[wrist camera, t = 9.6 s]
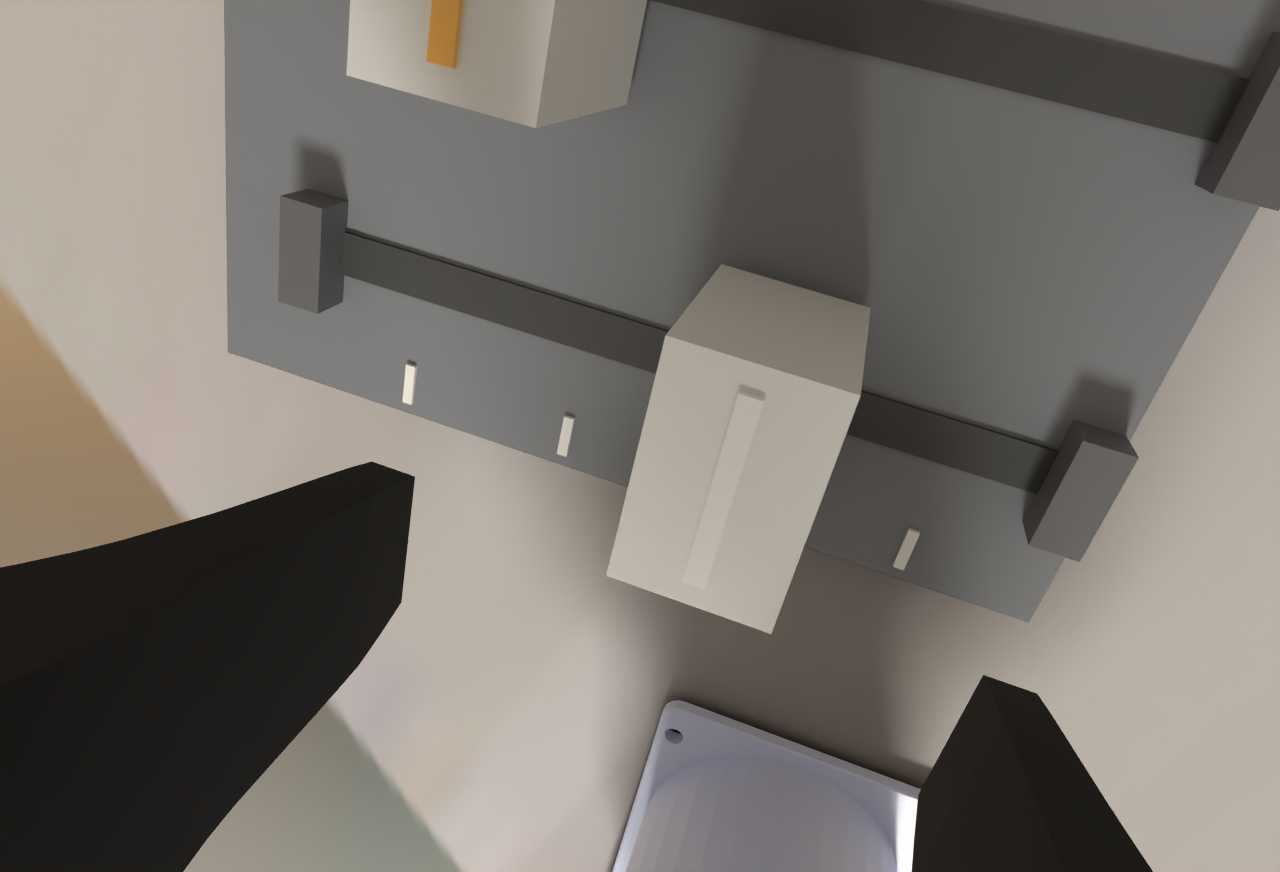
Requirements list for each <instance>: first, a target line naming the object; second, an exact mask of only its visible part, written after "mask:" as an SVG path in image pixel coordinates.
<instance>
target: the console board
mask: <svg viewBox="0 0 1280 872" xmlns="http://www.w3.org/2000/svg"><path fill="white" fill-rule="evenodd" d="M349 15H350V0H224V29H225V122H226V216H227V309H228V352H229V353H232V354H235V355H238V356H241V357H244V358H247V359H250V360H253V361H256V362H259V363H262V364H265V365H268V366H271V367H274V368H277V369H280V370H283V371H286V372H289V373H292V374H294V375H297V376H300V377H303V378H306V379H309V380H312V381H315V382H318V383H321V384H324V385H327V386H330V387H333V388H336V389H339V390H342V391H345V392H348V393H351V394H354V395H357V396H360V397H363V398H366V399H369V400H371V401H374V402H377V403H380V404H383V405H386V406H389V407H392V408H395V409H398V410H401V411H404V412H407V413H410V414H413V415H416V416H419V417H422V418H425V419H428V420H431V421H434V422H437V423H440V424H443V425H446V426H448V427H451V428H454V429H457V430H460V431H463V432H466V433H469V434H472V435H475V436H478V437H481V438H484V439H487V440H490V441H493V442H496V443H499V444H502V445H505V446H508V447H511V448H514V449H517V450H520V451H523V452H525V453H528V454H531V455H534V456H537V457H540V458H543V459H546V460H549V461H552V462H555V463H558V464H561V465H564V466H567V467H570V468H573V469H576V470H579V471H582V472H585V473H588V474H591V475H594V476H597V477H600V478H602V479H605V480H608V481H611V482H614V483H617V484H620V485H623V486H626V487H628V485H629V481H630V477H631V473H632V469H633V465H634V461H635V457H636V453H637V449H638V445H639V441H640V437H641V433H642V429H643V425H644V421H645V416H646V412H647V408H648V404H649V400H650V396H651V392H652V388H653V384H654V380H655V376H656V372H657V368H658V364H659V360H660V356H661V352H662V348H663V344H664V340H665V336H666V334H667V333H668V332H669V330H670V329H671V328H672V326H673V325H674V324H675V323H676V321H677V320H678V319H679V318H680V316H681V315H682V314H683V312H684V311H685V310H686V309H687V307H688V306H689V305H690V304H691V302H692V301H693V300H694V298H695V297H696V296H697V295H698V293H699V292H700V291H701V290H702V288H703V287H704V286H705V284H706V283H707V282H708V281H709V279H710V278H711V277H712V276H713V274H714V273H715V272H716V270H717V269H718V268H719V267H720V265H721V264H723V265H726V266H730V267H733V268H737V269H740V270H743V271H747V272H750V273H754V274H757V275H761V276H764V277H767V278H771V279H774V280H778V281H781V282H784V283H788V284H791V285H795V286H798V287H801V288H805V289H808V290H812V291H815V292H818V293H822V294H825V295H829V296H832V297H835V298H839V299H842V300H846V301H849V302H852V303H856V304H859V305H863V306H866V307H869V308H871V310H870V319H869V328H868V336H867V345H866V354H865V363H864V371H863V380H862V389H861V396H860V399H859V402H858V404H857V407H856V410H855V412H854V415H853V418H852V420H851V423H850V426H849V428H848V431H847V434H846V436H845V439H844V442H843V444H842V447H841V450H840V452H839V455H838V458H837V460H836V463H835V466H834V468H833V471H832V474H831V476H830V479H829V482H828V484H827V487H826V490H825V492H824V495H823V498H822V500H821V503H820V506H819V508H818V511H817V514H816V516H815V519H814V522H813V524H812V527H811V530H810V532H809V535H808V538H807V540H806V543H805V546H804V547H807V548H810V549H813V550H816V551H819V552H822V553H825V554H828V555H831V556H834V557H836V558H839V559H842V560H845V561H848V562H851V563H854V564H857V565H860V566H863V567H866V568H869V569H872V570H875V571H878V572H881V573H884V574H887V575H890V576H893V577H896V578H899V579H902V580H905V581H908V582H911V583H913V584H916V585H919V586H922V587H925V588H928V589H931V590H934V591H937V592H940V593H943V594H946V595H949V596H952V597H955V598H958V599H961V600H964V601H967V602H970V603H973V604H976V605H979V606H982V607H985V608H988V609H990V610H993V611H996V612H999V613H1002V614H1005V615H1008V616H1011V617H1014V618H1017V619H1020V620H1023V621H1026V622H1029V621H1030V619H1031V618H1032V616H1033V614H1034V612H1035V610H1036V609H1037V607H1038V605H1039V603H1040V601H1041V599H1042V598H1043V596H1044V594H1045V592H1046V590H1047V589H1048V587H1049V585H1050V583H1051V581H1052V580H1053V578H1054V576H1055V574H1056V572H1057V571H1058V569H1059V567H1060V565H1061V563H1062V562H1063V560H1064V558H1065V557H1066V558H1069V559H1072V560H1076V561H1079V562H1080V560H1081V559H1082V557H1083V555H1084V553H1085V552H1086V550H1087V548H1088V546H1089V545H1090V543H1091V541H1092V539H1093V537H1094V536H1095V534H1096V532H1097V530H1098V529H1099V527H1100V525H1101V523H1102V522H1103V520H1104V518H1105V516H1106V515H1107V513H1108V511H1109V509H1110V507H1111V506H1112V504H1113V502H1114V500H1115V499H1116V497H1117V495H1118V493H1119V492H1120V490H1121V488H1122V486H1123V485H1124V483H1125V481H1126V479H1127V477H1128V476H1129V474H1130V472H1131V470H1132V469H1133V467H1134V465H1135V463H1136V462H1137V460H1138V456H1137V454H1136V452H1135V450H1134V449H1133V447H1132V445H1131V443H1130V442H1129V441H1130V439H1131V437H1132V435H1133V434H1134V432H1135V430H1136V428H1137V426H1138V425H1139V423H1140V421H1141V419H1142V417H1143V416H1144V414H1145V412H1146V410H1147V408H1148V407H1149V405H1150V403H1151V401H1152V399H1153V397H1154V396H1155V394H1156V392H1157V390H1158V388H1159V387H1160V385H1161V383H1162V381H1163V379H1164V378H1165V376H1166V374H1167V372H1168V370H1169V369H1170V367H1171V365H1172V363H1173V361H1174V360H1175V358H1176V356H1177V354H1178V352H1179V351H1180V349H1181V347H1182V345H1183V343H1184V342H1185V340H1186V338H1187V336H1188V334H1189V333H1190V331H1191V329H1192V327H1193V325H1194V324H1195V322H1196V320H1197V318H1198V316H1199V315H1200V313H1201V311H1202V309H1203V307H1204V305H1205V304H1206V302H1207V300H1208V298H1209V296H1210V295H1211V293H1212V291H1213V289H1214V287H1215V286H1216V284H1217V282H1218V280H1219V278H1220V277H1221V275H1222V273H1223V271H1224V269H1225V268H1226V266H1227V264H1228V262H1229V260H1230V259H1231V257H1232V255H1233V253H1234V251H1235V250H1236V248H1237V246H1238V244H1239V242H1240V241H1241V239H1242V237H1243V235H1244V233H1245V232H1246V230H1247V228H1248V226H1249V224H1250V223H1251V221H1252V219H1253V217H1254V215H1255V214H1256V212H1257V210H1258V208H1259V206H1261V207H1265V208H1269V209H1273V210H1277V211H1279V209H1280V0H647V4H646V9H645V14H644V19H643V24H642V29H641V34H640V39H639V44H638V49H637V54H636V59H635V64H634V70H633V75H632V80H631V85H630V90H629V95H628V100H627V105H624V106H620V107H616V108H613V109H609V110H605V111H601V112H597V113H593V114H589V115H585V116H581V117H578V118H574V119H570V120H566V121H562V122H558V123H554V124H550V125H546V126H543V127H539V128H533V127H530V126H526V125H522V124H519V123H515V122H512V121H508V120H504V119H501V118H497V117H494V116H490V115H487V114H483V113H479V112H476V111H472V110H469V109H465V108H461V107H458V106H454V105H451V104H447V103H444V102H440V101H436V100H433V99H429V98H426V97H422V96H419V95H415V94H411V93H408V92H404V91H401V90H397V89H393V88H390V87H386V86H383V85H379V84H376V83H372V82H368V81H365V80H361V79H358V78H354V77H351V76H347V75H346V73H347V54H348V34H349Z"/></svg>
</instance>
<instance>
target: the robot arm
mask: <svg viewBox="0 0 1280 872" xmlns="http://www.w3.org/2000/svg"><path fill="white" fill-rule="evenodd" d="M414 480H415V477H414V476H411V475H409V474H406V473H403V472H400V471H397V470H394V469H391V468H388V467H386V466H383V465H380V464H377V463H374V462H369V463H365V464H362V465H358V466H354V467H351V468H348V469H345V470H342V471H339V472H335V473H332V474H329V475H326V476H323V477H320V478H318V479H315V480H312V481H309V482H306V483H303V484H300V485H297V486H294V487H291V488H288V489H285V490H283V491H280V492H277V493H274V494H271V495H268V496H265V497H262V498H259V499H256V500H253V501H250V502H247V503H244V504H241V505H238V506H235V507H232V508H229V509H226V510H223V511H220V512H216V513H213V514H210V515H207V516H203V517H200V518H196V519H193V520H190V521H186V522H183V523H179V524H176V525H173V526H169V527H166V528H162V529H159V530H155V531H152V532H149V533H145V534H142V535H139V536H135V537H132V538H128V539H125V540H121V541H117V542H113V543H109V544H105V545H101V546H97V547H93V548H89V549H85V550H81V551H77V552H72V553H68V554H63V555H59V556H54V557H49V558H44V559H40V560H36V561H31V562H26V563H22V564H17V565H12V566H6V567H1V568H0V872H183V871H184V870H185V868H186V867H187V865H188V864H189V863H190V862H191V860H192V859H193V857H194V856H195V855H196V853H197V852H198V851H199V849H200V848H201V846H202V845H203V844H204V842H205V841H206V840H207V838H208V837H209V836H210V835H211V833H212V832H213V831H214V830H215V829H216V827H217V826H218V825H219V824H220V822H221V821H222V820H223V819H224V818H225V816H226V815H227V814H228V813H229V812H230V810H231V809H232V808H233V807H234V805H235V804H236V803H237V802H238V801H239V799H241V797H242V796H243V795H244V794H245V793H246V792H247V791H248V789H249V788H250V787H251V786H252V785H253V784H254V783H255V782H256V781H257V779H258V778H259V777H260V776H261V775H262V774H263V773H264V772H265V771H266V769H267V768H268V767H269V766H270V765H271V764H272V763H273V762H274V760H275V759H276V758H277V757H278V756H279V755H280V754H281V752H283V750H284V749H285V748H286V747H287V746H288V745H289V743H291V741H292V740H293V739H294V738H295V737H296V736H297V735H298V734H299V732H300V731H301V730H302V729H303V728H304V727H305V726H306V725H307V723H308V722H309V721H310V720H311V719H312V718H313V717H314V716H315V715H316V714H317V712H318V711H319V710H320V709H321V708H322V707H323V706H324V704H325V703H326V702H327V701H328V700H329V699H330V698H331V696H332V695H333V694H334V693H335V692H336V691H337V690H338V689H339V687H340V686H341V685H342V684H343V683H344V682H345V681H346V679H347V678H348V677H349V676H350V675H351V674H352V672H353V671H354V670H355V669H356V668H357V667H358V665H359V664H360V663H361V661H362V660H363V658H364V657H365V655H366V654H367V653H368V651H369V650H370V648H371V647H372V645H373V644H374V643H375V641H376V640H377V638H378V637H379V635H380V634H381V632H382V631H383V629H384V628H385V626H386V625H387V623H388V622H389V620H390V619H391V617H392V616H393V614H394V612H395V611H396V609H397V608H398V606H399V605H400V603H401V600H402V591H403V581H404V572H405V563H406V554H407V544H408V535H409V526H410V517H411V508H412V498H413V489H414ZM670 729H676V730H678V731H679V732H681V734H678V733H674V732H673V731H671V730H670ZM612 872H1153V871H1152V869H1151V868H1150V867H1149V865H1148V864H1147V862H1146V861H1145V859H1144V858H1143V856H1142V855H1141V853H1140V852H1139V850H1138V849H1137V847H1136V846H1135V844H1134V843H1133V841H1132V840H1131V838H1130V837H1129V835H1128V834H1127V832H1126V831H1125V829H1124V828H1123V826H1122V825H1121V823H1120V822H1119V820H1118V819H1117V817H1116V815H1115V814H1114V812H1113V811H1112V809H1111V808H1110V806H1109V805H1108V803H1107V802H1106V800H1105V798H1104V797H1103V795H1102V794H1101V792H1100V791H1099V789H1098V787H1097V786H1096V784H1095V783H1094V781H1093V780H1092V778H1091V776H1090V775H1089V773H1088V772H1087V770H1086V769H1085V767H1084V765H1083V764H1082V762H1081V761H1080V759H1079V757H1078V756H1077V754H1076V753H1075V751H1074V750H1073V748H1072V746H1071V745H1070V743H1069V742H1068V740H1067V738H1066V737H1065V735H1064V734H1063V732H1062V731H1061V729H1060V727H1059V726H1058V724H1057V723H1056V721H1055V720H1054V718H1053V717H1052V715H1051V714H1050V712H1049V710H1048V709H1047V707H1046V706H1045V705H1044V703H1043V702H1042V700H1041V699H1040V697H1039V696H1038V694H1036V693H1033V692H1030V691H1028V690H1025V689H1022V688H1019V687H1016V686H1013V685H1010V684H1008V683H1005V682H1002V681H999V680H996V679H993V678H990V677H987V676H985V675H983V676H982V678H981V680H980V682H979V684H978V686H977V688H976V689H975V691H974V693H973V695H972V697H971V699H970V700H969V702H968V704H967V706H966V708H965V710H964V712H963V713H962V715H961V717H960V719H959V721H958V723H957V724H956V726H955V728H954V730H953V732H952V734H951V735H950V737H949V739H948V741H947V743H946V745H945V747H944V748H943V750H942V752H941V754H940V756H939V758H938V759H937V761H936V763H935V765H934V767H933V769H932V771H931V772H930V774H929V776H928V778H927V780H926V782H925V783H924V785H923V787H922V789H919V788H916V787H913V786H911V785H908V784H905V783H903V782H900V781H897V780H895V779H892V778H889V777H887V776H884V775H881V774H878V773H876V772H873V771H870V770H868V769H865V768H862V767H860V766H857V765H854V764H852V763H849V762H846V761H843V760H841V759H838V758H835V757H833V756H830V755H827V754H825V753H822V752H819V751H817V750H814V749H811V748H808V747H806V746H803V745H800V744H798V743H795V742H792V741H790V740H787V739H784V738H782V737H779V736H776V735H773V734H771V733H768V732H765V731H763V730H760V729H757V728H755V727H752V726H749V725H747V724H744V723H741V722H738V721H736V720H733V719H730V718H728V717H725V716H722V715H720V714H717V713H714V712H712V711H709V710H706V709H703V708H701V707H698V706H695V705H693V704H690V703H687V702H684V701H679V700H676V701H671V702H669V703H667V704H666V706H665V707H664V709H663V712H662V715H661V718H660V721H659V724H658V727H657V731H656V734H655V737H654V740H653V743H652V747H651V750H650V753H649V756H648V759H647V762H646V766H645V769H644V772H643V775H642V778H641V781H640V785H639V788H638V791H637V794H636V797H635V801H634V804H633V807H632V810H631V813H630V816H629V820H628V823H627V826H626V829H625V832H624V835H623V839H622V842H621V845H620V848H619V851H618V855H617V858H616V861H615V864H614V867H613V870H612Z"/></svg>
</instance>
